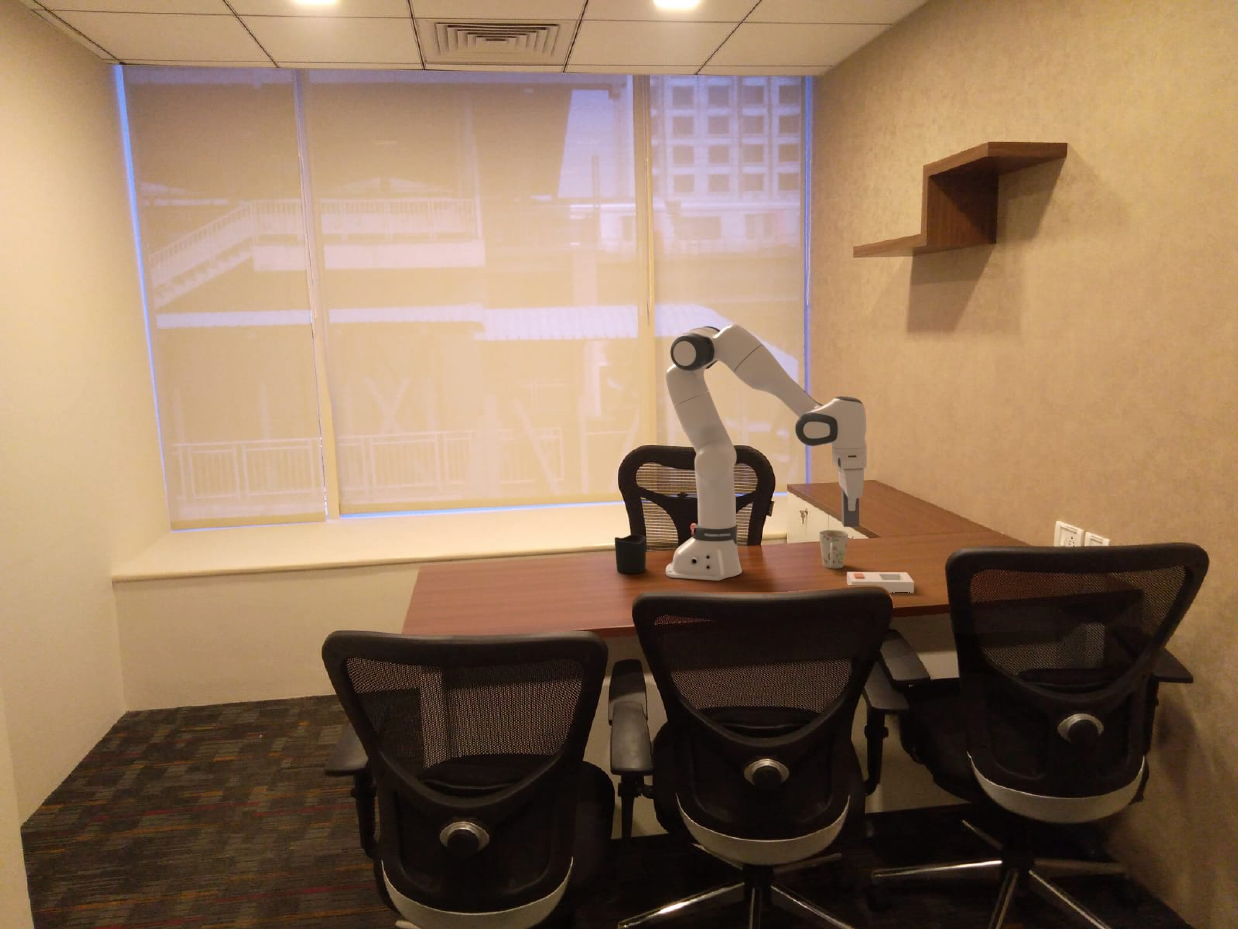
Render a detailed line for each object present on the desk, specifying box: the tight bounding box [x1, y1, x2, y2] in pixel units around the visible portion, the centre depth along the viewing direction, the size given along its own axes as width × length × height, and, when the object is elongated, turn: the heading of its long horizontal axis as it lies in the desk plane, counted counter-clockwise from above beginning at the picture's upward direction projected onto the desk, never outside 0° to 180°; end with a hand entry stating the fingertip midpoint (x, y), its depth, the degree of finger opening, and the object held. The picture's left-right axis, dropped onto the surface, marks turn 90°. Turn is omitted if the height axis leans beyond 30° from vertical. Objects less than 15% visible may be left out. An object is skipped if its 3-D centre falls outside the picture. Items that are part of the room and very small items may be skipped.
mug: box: [818, 529, 849, 569], centre depth 238 cm, size 8×13×10 cm, turn 164°
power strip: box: [846, 571, 915, 594], centre depth 219 cm, size 16×9×4 cm, turn 82°
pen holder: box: [614, 534, 647, 575], centre depth 243 cm, size 9×9×10 cm
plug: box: [840, 487, 860, 528], centre depth 216 cm, size 4×4×10 cm
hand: (850, 508), depth 216 cm, fingers closed on plug, 4 cm apart
